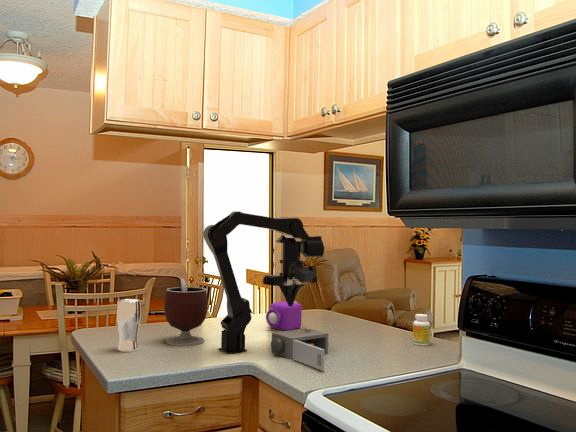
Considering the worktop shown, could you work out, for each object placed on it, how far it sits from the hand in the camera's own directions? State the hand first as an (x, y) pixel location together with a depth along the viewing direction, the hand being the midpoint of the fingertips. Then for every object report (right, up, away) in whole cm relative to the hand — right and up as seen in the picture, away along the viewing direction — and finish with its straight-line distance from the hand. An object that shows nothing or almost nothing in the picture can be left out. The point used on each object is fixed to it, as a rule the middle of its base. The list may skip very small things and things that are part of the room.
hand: (290, 306), depth 178 cm
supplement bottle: (+44, -14, +8) cm, 47 cm away
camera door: (+5, -13, -23) cm, 26 cm away
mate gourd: (-35, -13, +6) cm, 37 cm away
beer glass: (-49, -12, -8) cm, 51 cm away
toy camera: (-3, -14, +30) cm, 33 cm away
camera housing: (+2, -13, -8) cm, 15 cm away
